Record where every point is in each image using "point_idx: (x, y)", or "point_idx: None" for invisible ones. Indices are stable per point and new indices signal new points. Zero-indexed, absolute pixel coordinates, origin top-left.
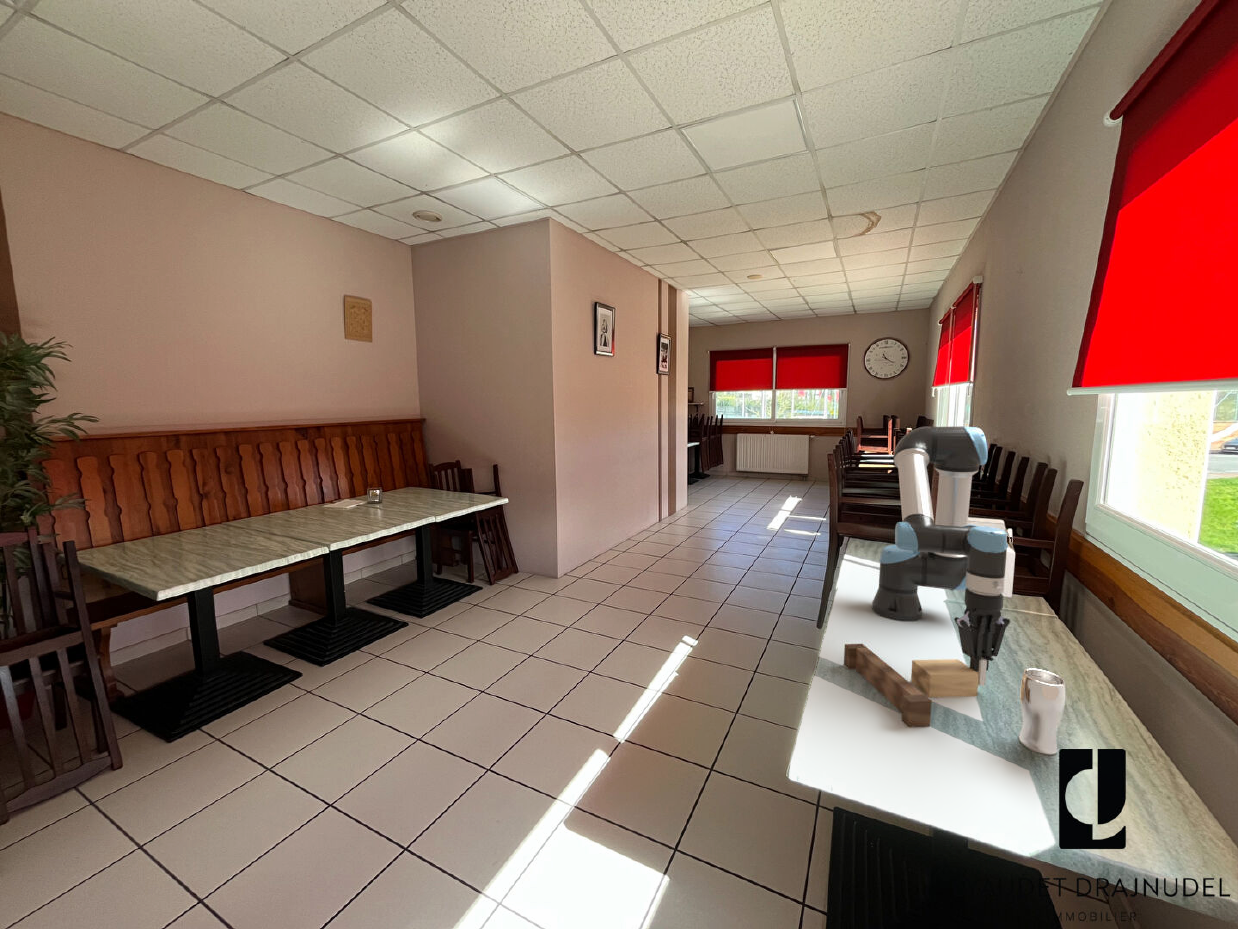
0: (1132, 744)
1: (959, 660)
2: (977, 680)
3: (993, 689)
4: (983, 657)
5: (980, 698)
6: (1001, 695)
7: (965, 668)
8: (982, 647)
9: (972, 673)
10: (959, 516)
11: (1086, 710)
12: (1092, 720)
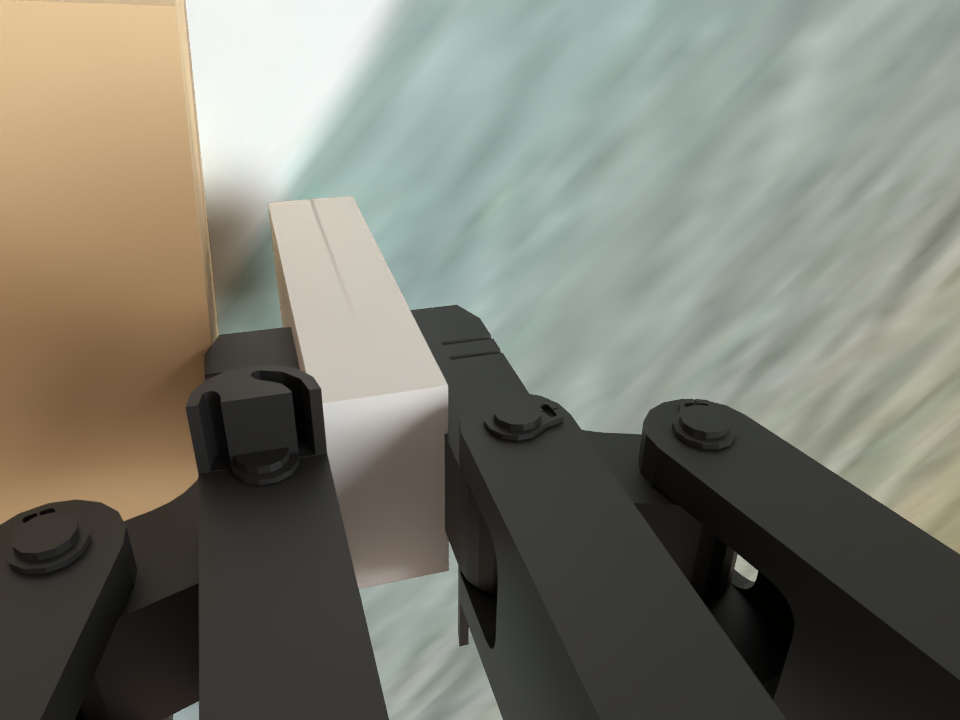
0: None
1: (177, 65)
2: None
3: (512, 204)
4: (447, 525)
5: None
6: (498, 313)
7: (100, 376)
8: (518, 647)
9: (125, 514)
10: None
11: (915, 468)
12: None
